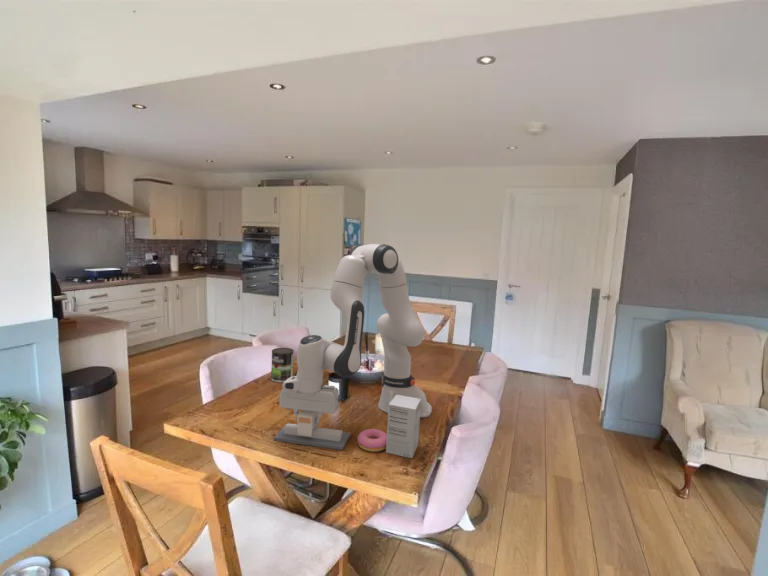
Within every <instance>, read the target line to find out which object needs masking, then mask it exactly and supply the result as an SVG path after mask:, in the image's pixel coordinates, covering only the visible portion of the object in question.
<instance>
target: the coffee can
mask: <svg viewBox="0 0 768 576" xmlns="http://www.w3.org/2000/svg"><path fill="white" fill-rule="evenodd" d="M294 353H295V351H294V349H293V348H289V347H277V348H273V349H272V350H271V375H270V380H272V382H276V383H283V382H284V381H286V380H287V379H288V378H290V377H293V376H294V375H293V374H294V373H293V372H294V371H293V370H294Z"/></svg>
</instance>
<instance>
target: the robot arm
mask: <svg viewBox="0 0 768 576" xmlns="http://www.w3.org/2000/svg"><path fill="white" fill-rule="evenodd" d="M368 274H376V275H377V277H378V285H379V287H378V288H379V291H380V292H379V293H380V298H381V304H382V306H383V308H384V309H385V311H386V313H384V314H381V315H380V316H379V317H378V319H377V320H376V321H377V322H376V329H377V331H378V333H379V335H380V337H381V342H382V347H383V355H384V361H383V365H384V366H383V372H382V378H381V393H380V397H379V402H378V404H377V407H378V409H379V410H380V411H383V412H385V413H386V414H387V415H388V406H389V404H390V402H391V401H392V400H393V398H394V397H395V395H402V396H407V397H413V398H419V399H421V410H420V418H427V417H430V416H431V414H432V410H433V409H432V404H430V402H428V401H427V395H426V393H425V392H424V391H423V390H422V389H421V388H419V386H417V385H416V378H415V375H412V374H411V366H412V355H411V354H410V352H409V349H408V347H414V348H415V347H417V346H419V345H421V344H422V343H423V341H424V339H425V333H426V332H425V328H424V326H423V325H422V324H421V322H420V321H419V319H418V318H417V316H416V314H415V311H414V308H413V306H412V304H411V301H410V296H409V289H408V283H407V277H406V273H405V268H404V265H403V262H402V261H401V259H400V258H399V255H398V252H397V251H396V249H395V247H393V246H392V245H389V244H385V243H384V244H380V243H369V244H358V245H355V246H353V248H351V249H350V252H349V253H348V255H345V256H343V257H342V258H341V260H340V261H339V263H338V266H337V268H336V271H335V273H334V277H333V281H332V283H331V287H330V300H331V302H332V303H333V304H334V306H335V307H336V308H337V309H338V310H340V312H342V314H343V315H344V317H345V319H346V331H345V337H344V343H343V345H342V344H339V343H336V342H334V341H331V340H330V341H329V340H326V339H324V338H322V336H320V335H318V334H312V335H311V334H310V335H306V336H304V337H302V338H301V339H300V341H299V344H298V346H297V355H296V358H297V359H296V364H297V371H296V372H297V376H294V375H292V377H290V378H288V379H287V380H286V381H284V382H282V389H281V391H280V392H279V393H280V394H279V401H278V402H279V406H280V407H281V408H283V409H291V410H292V409H293V413H294V415H295V417H296V420H295V421H296V422H298V414H299V413H300V411H302V410H306V411H313V412H318V415H319V417H316V418H315V420H314V421H315V422H314V423H315V424H318V425H319V424H320V423H321V418H322V416H323V414H330V415H334V414H335V413H336V412H337V411H338V410H339V397H340V396H339V395H340V392H339V389H338V388H337V387H336V386H334V385H329V384H328V385H327V384H323V382H324V380H323V379H324V370H328V371H330V372H332V373H334V374H337V375H338V376H341V377H342V378H345V379H347V378H350V377H353V376H354V375H355V374H356V373H358V371H359V370H360V368H361V365H362V341H363V333H364V325H365V323H364V322H365V305H364V304H363V301H362V293H363V289H364V283H365V278H366V277H367V275H368Z"/></svg>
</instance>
